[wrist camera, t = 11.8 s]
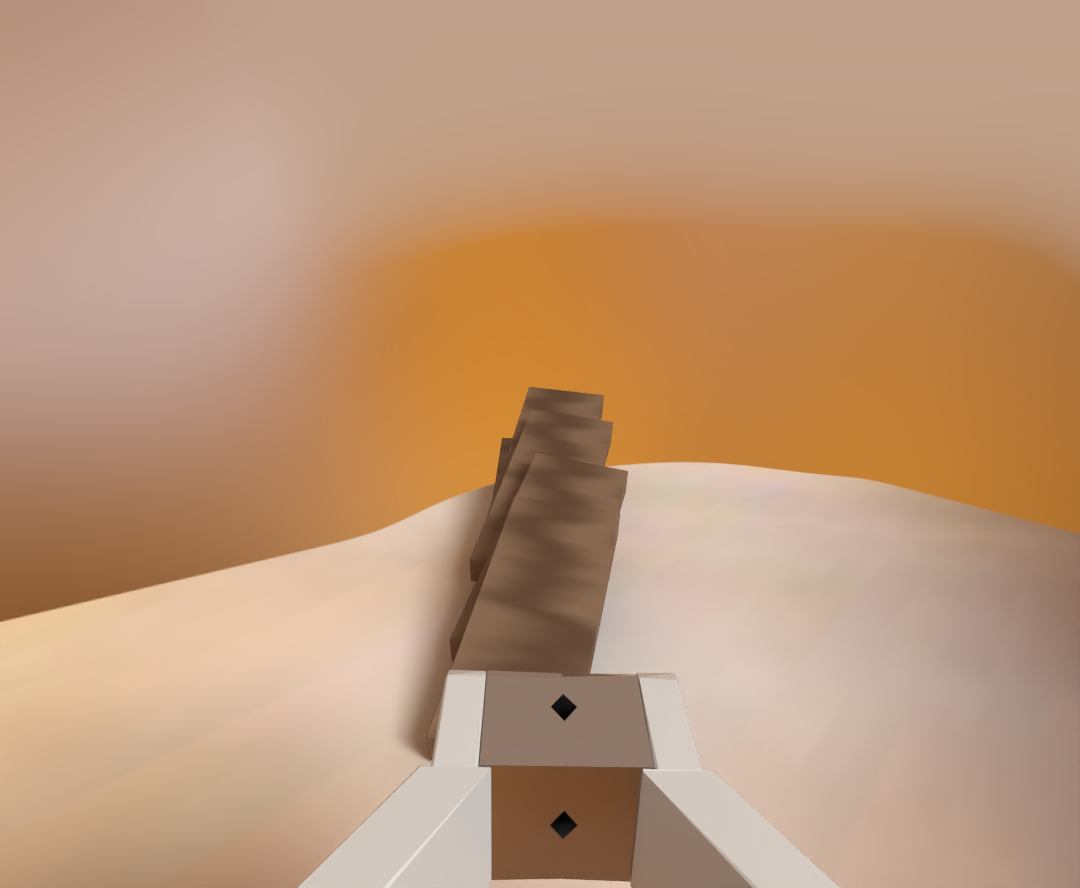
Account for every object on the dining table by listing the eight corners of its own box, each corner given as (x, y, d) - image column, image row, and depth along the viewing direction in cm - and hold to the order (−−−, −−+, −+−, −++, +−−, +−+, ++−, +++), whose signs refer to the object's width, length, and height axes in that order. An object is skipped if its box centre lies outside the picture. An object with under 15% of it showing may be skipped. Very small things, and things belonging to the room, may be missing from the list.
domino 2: (569, 600, 44) (611, 441, 55) (571, 579, 42) (612, 422, 54) (471, 580, 45) (531, 428, 56) (469, 559, 43) (531, 409, 55)
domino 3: (565, 691, 37) (625, 492, 48) (567, 670, 36) (627, 471, 47) (451, 661, 38) (535, 473, 49) (449, 639, 37) (536, 452, 48)
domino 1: (577, 549, 49) (602, 413, 60) (578, 529, 48) (603, 395, 59) (487, 536, 50) (529, 404, 61) (487, 517, 49) (529, 386, 60)
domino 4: (566, 790, 31) (617, 535, 43) (568, 768, 30) (620, 513, 41) (429, 759, 32) (515, 518, 44) (426, 737, 31) (514, 495, 42)
